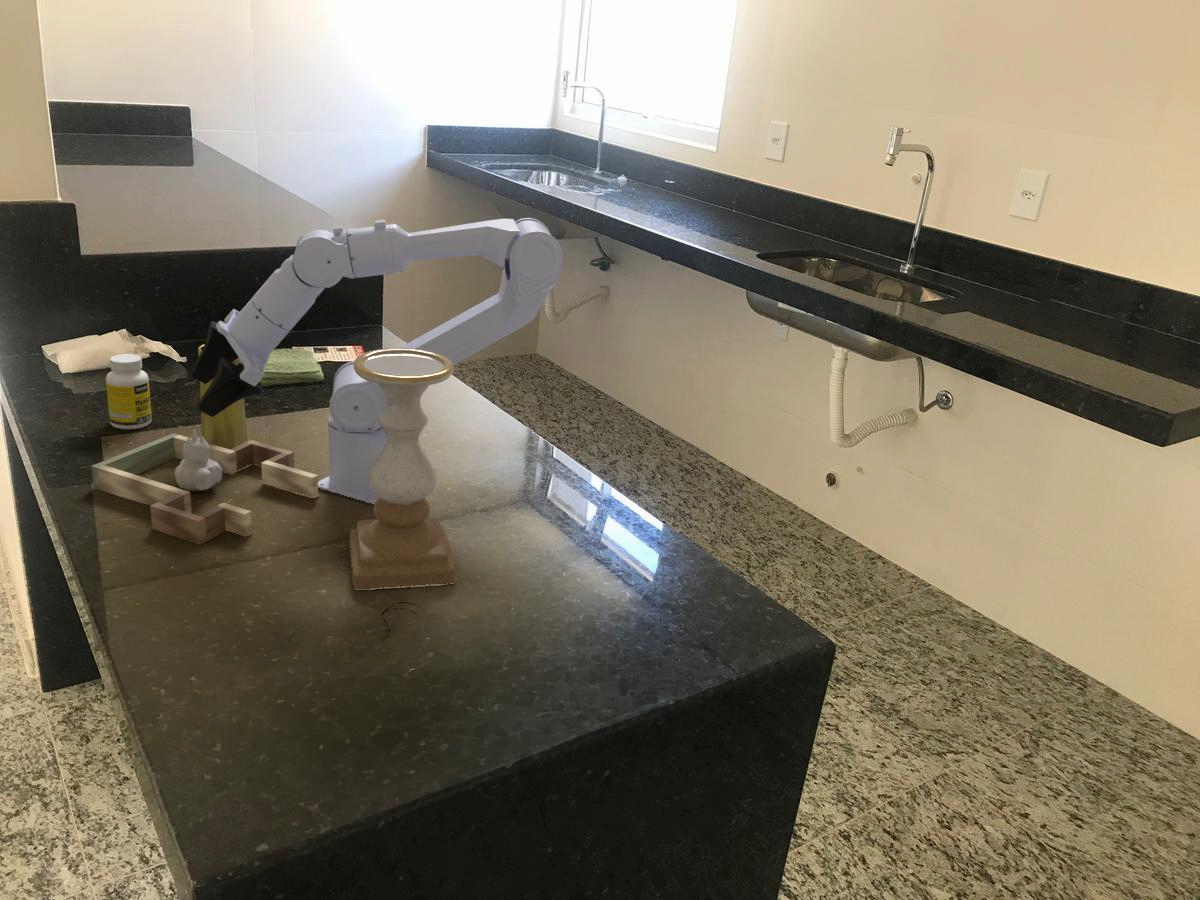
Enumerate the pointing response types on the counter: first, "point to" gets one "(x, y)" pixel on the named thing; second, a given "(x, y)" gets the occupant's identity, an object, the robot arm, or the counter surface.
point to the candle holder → (401, 479)
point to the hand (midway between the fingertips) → (201, 395)
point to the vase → (224, 421)
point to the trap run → (175, 503)
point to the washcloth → (291, 367)
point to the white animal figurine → (197, 466)
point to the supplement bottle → (128, 393)
